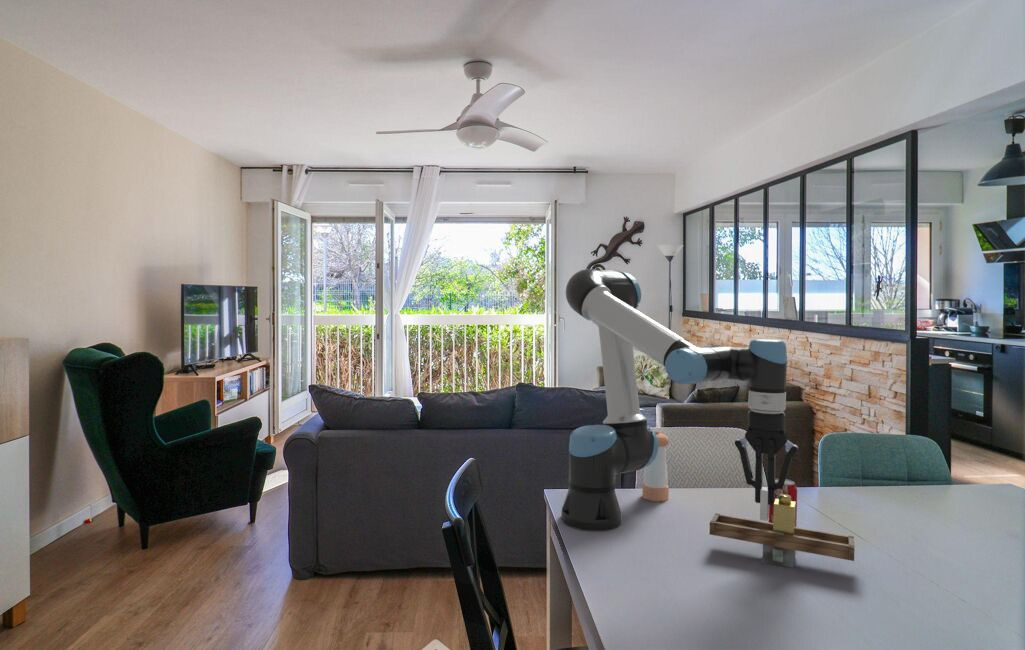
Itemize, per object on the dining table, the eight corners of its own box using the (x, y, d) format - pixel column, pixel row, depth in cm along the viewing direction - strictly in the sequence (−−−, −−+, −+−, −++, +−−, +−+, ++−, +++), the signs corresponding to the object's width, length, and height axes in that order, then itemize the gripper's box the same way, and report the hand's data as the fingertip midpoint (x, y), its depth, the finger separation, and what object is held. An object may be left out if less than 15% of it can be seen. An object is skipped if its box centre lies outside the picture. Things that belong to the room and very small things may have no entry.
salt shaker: (671, 501, 170) (672, 433, 169) (645, 501, 170) (646, 433, 169) (665, 493, 177) (666, 428, 177) (640, 493, 177) (641, 428, 177)
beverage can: (799, 535, 146) (800, 485, 145) (771, 533, 147) (772, 484, 147) (792, 526, 152) (793, 478, 151) (766, 524, 153) (767, 476, 153)
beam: (708, 552, 135) (709, 522, 135) (714, 541, 141) (715, 512, 141) (853, 581, 122) (854, 547, 121) (853, 567, 128) (854, 535, 128)
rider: (772, 536, 130) (774, 496, 130) (774, 530, 134) (775, 491, 133) (793, 539, 128) (794, 499, 128) (794, 533, 132) (795, 494, 131)
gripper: (732, 410, 132) (730, 518, 132) (798, 416, 125) (795, 529, 126) (737, 405, 138) (735, 508, 139) (800, 410, 132) (798, 518, 133)
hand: (764, 518), depth 133 cm, fingers closed
